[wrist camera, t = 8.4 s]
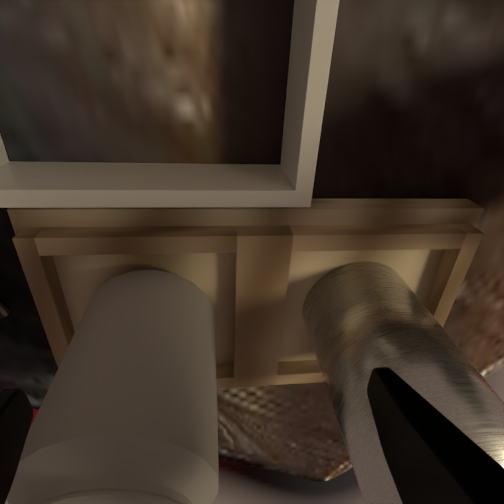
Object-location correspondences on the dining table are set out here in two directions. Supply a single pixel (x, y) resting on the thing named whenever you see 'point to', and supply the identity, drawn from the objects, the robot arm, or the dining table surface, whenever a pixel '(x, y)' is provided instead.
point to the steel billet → (391, 365)
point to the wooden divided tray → (245, 266)
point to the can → (130, 402)
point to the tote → (202, 175)
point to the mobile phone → (3, 311)
